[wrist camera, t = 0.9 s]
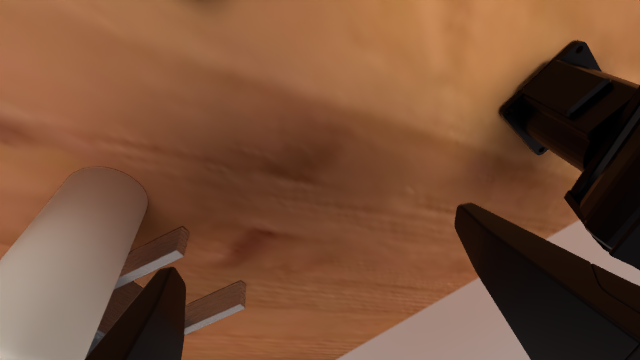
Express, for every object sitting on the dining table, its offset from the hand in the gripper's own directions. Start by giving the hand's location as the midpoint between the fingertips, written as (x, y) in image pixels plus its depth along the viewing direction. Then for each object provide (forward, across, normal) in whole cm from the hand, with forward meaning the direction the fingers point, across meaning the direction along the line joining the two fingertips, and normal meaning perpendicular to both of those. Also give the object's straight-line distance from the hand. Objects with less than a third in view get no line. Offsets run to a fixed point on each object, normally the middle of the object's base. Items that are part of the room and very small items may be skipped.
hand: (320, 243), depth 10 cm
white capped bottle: (+13, +14, +5) cm, 19 cm away
